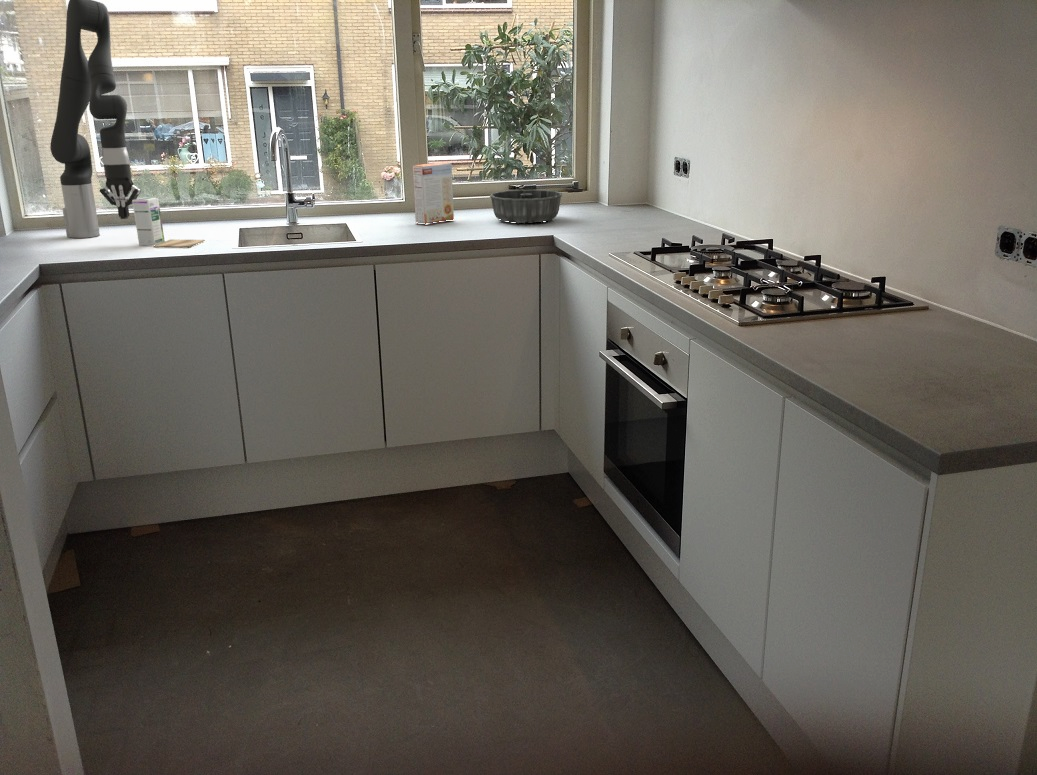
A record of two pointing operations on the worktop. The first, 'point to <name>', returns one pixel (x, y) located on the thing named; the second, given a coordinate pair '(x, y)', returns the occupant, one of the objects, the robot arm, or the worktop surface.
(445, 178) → the cracker box
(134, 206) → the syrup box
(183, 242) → the wooden slatted trivet
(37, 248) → the worktop surface
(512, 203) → the bundt pan
